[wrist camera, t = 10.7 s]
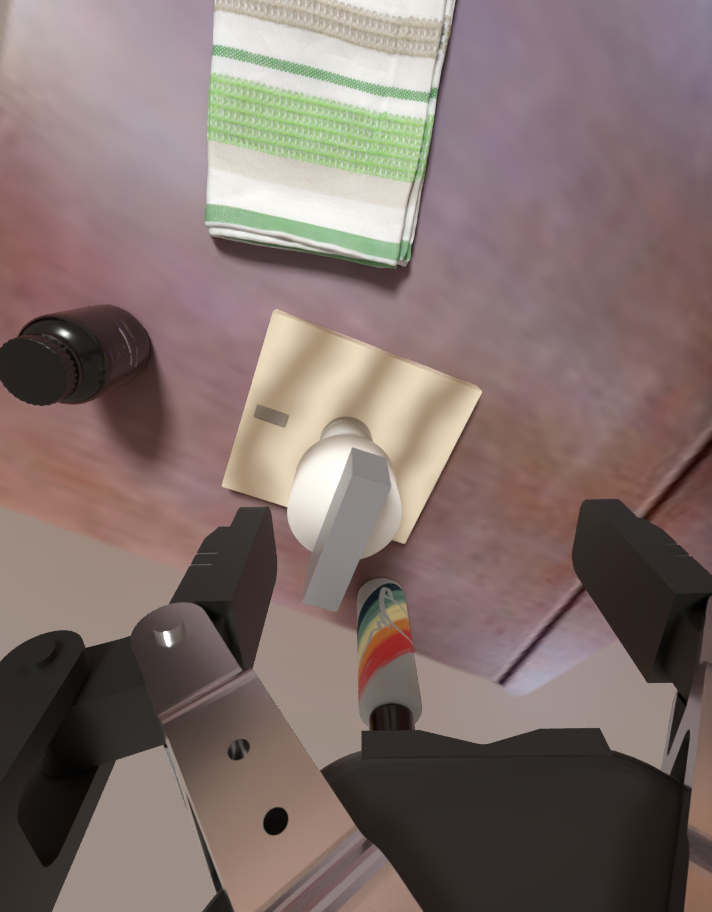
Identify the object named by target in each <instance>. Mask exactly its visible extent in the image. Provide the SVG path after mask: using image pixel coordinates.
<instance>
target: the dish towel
mask: <svg viewBox="0 0 712 912" xmlns="http://www.w3.org/2000/svg"><path fill="white" fill-rule="evenodd" d="M455 1H456V0H214V26H213V50H212V66H211V74H210V85H209V107H208V122H207V124H208V134H207V137H208V179H207V203H206V210H205V221H204V222H205V226H206V227H209V234H210V236H212V237H219V238H222V239H226V240H232V241H237V242H243V243H247V244H252V245H257V246H265V247H269V248H277V249H284V250H292V251H298V252H305V253H312V254H316V255H320V256H326V257H332V258H336V259H341V260H347V261H351V262H354V263H358V264H363V265H368V266H372V267H377V268H392V269H396V268H397V265H401V266H404V267H405V266H407V262H409V261H410V259H411V246H412V243H413V240H414V235H415V229H416V224H417V217H418V212H419V205H420V198H421V191H422V186H423V183H424V177H425V172H426V164H427V157H428V154H429V146H430V143H431V136H432V129H433V123H434V116H435V108H436V100H437V92H438V87H439V82H440V76H441V70H442V66H443V63H444V60H445V54H446V50H447V45H448V40H449V37H450V32H451V25H452V18H453V11H454V6H455Z"/></svg>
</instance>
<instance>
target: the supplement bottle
mask: <svg viewBox="0 0 712 912" xmlns="http://www.w3.org/2000/svg"><path fill="white" fill-rule="evenodd" d="M149 355H150V343H149V339H148V336H147V334H146V331H145V330H144V328H143V326H142V325H141V324H140V322H139V321H138V320H137V319H136V318H135V317H134V316H133V315H131V314H130V313H129V312H127V311H125V310H124V309H121V308H119V307H116V306H112V305H95V306H88V307H83V308H78V309H73V310H68V311H63V312H57V313H52V314H47V315H43V316H40V317H37V318H34V319H33V320H31V321H29V322H28V323H27V324H26V325H25V326H24V327H23V328H22V329H21V330H20V332H19V334H18V336H17V337H16V338H14V339H10V340H9V341H8V342H7V343H4V344H3V346H2V347H1V348H0V380H1V382H2V383H3V385H4V387H5V388H7V389H8V391H9V392H10V393H12V394H13V395H14V396H15V397H16V398H19V399H20V400H21V401H25V402H26V403H28V404H33V405H40V406H44V405H51V404H54V403H57V402H58V403H62V404H69V405H76V404H83V403H87V402H89V401H92V400H94V399H96V398H98V397H99V396H101V395H103V394H105V393H107V392H108V391H110V390H112V389H114V388H116V387H117V386H119V385H121V384H123V383H125V382H126V381H128V380H130V379H132V378H133V377H135V376H136V375H138V374H139V373H140V372H141V371H142V370H143V369H144V368H145V366H146V364H147V362H148V359H149Z"/></svg>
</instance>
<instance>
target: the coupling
mask: <svg viewBox="0 0 712 912" xmlns="http://www.w3.org/2000/svg"><path fill="white" fill-rule="evenodd" d="M287 514H288V521H289V525H290V528H291V530H292V532H293V534H294V536H295V537H296V538H297V540H298V541H299V542H300V543H301V544H302V545H303V546H304V547H305V548H307V549H308V550H309V551H311V552H312V554H311V557H310V559H309V562H308V564H307V571H306V578H305V586H304V593H303V601H302V603H304V604H308V605H312V606H315V607H319V608H323V609H327V610H331V611H334V612H337V610H338V608H339V606H340V604H341V601H342V599H343V597H344V594H345V592H346V590H347V588H348V585H349V583H350V581H351V578H352V576H353V574H354V571H355V569H356V567H357V565H358V562H359V560H360V559H363V558H366V557H369V556H371V555H373V554H375V553H377V552H379V551H380V550H382V549H383V548H384V547H385V546H387V545H388V544H389V542H390V541H391V540H392V539H393V538H394V536H395V535H396V533H397V531H398V529H399V526H400V523H401V518H402V506H401V500H400V495H399V490H398V485H397V480H396V475H395V470H394V467H393V464H392V462H391V460H390V458H389V456H388V455H387V454H386V453H385V451H384V450H383V449H382V448H381V447H379V446H378V445H377V444H375V443H374V442H372V441H370V440H368V439H366V438H363V437H360V436H356V435H335V436H331V437H327V438H325V439H322V440H320V441H318V442H317V443H315V444H314V445H312V446H311V447H310V448H309V449H308V450H307V451H306V452H305V453H304V454H303V456H302V457H301V459H300V461H299V463H298V466H297V469H296V473H295V477H294V481H293V486H292V490H291V494H290V498H289V502H288V509H287Z"/></svg>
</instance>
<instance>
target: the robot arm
mask: <svg viewBox="0 0 712 912" xmlns="http://www.w3.org/2000/svg"><path fill="white" fill-rule="evenodd" d="M676 543H677V542H675V541H674V540H673V539H672V538H671V537H670V536H669V535H668V534H667V533H666V532H665V531H664V530H663V529H661V528H659V527H657V526H656V525H654V524H652V523H650V522H648V521H646V520H645V519H643V518H638V517H637V516H636V515H635V514H634V513H632V512H631V511H630V510H629V509H628V508H627V507H626V506H625V505H624V504H623V503H622V502H621V501H620V500H618V499H591V500H585V501H584V502H583V503H582V505H581V507H580V512H579V517H578V523H577V528H576V534H575V539H574V544H573V550H572V561H573V567H574V570H575V573H576V575H577V576H578V578H579V579H580V581H581V583H582V584H583V586H584V587H585V589H586V590H587V592H588V593H589V595H590V596H591V598H592V599H593V601H594V602H595V604H596V605H597V607H598V608H599V610H600V611H601V613H602V614H603V616H604V617H605V619H606V621H607V622H608V624H609V625H610V627H611V628H612V630H613V631H614V633H615V634H616V636H617V637H618V639H619V640H620V642H621V643H622V645H623V646H624V648H625V649H626V651H627V652H628V654H629V655H630V657H631V658H632V660H633V662H634V663H635V665H636V666H637V668H638V669H639V671H640V672H641V674H642V675H643V677H644V678H645V680H646V681H647V683H673V684H674V686H675V687H676V688H677V691H676V694H675V697H674V700H673V704H672V709H671V715H670V720H669V726H668V732H667V738H666V743H665V748H664V754H663V761H662V765H661V770H659V769H657V768H655V767H653V766H651V765H650V764H647V763H645V762H643V761H640V760H638V759H636V758H634V757H631V756H628V755H625V754H622V753H619V752H617V751H612V750H610V748H609V746H608V744H607V742H606V740H605V738H604V736H603V734H602V732H601V730H600V728H564V729H538V730H535V731H531V732H528V733H524V734H521V735H518V736H514V737H511V738H507V739H503V740H500V741H497V742H493V743H490V744H476V743H472V742H468V741H463V740H459V739H455V738H451V737H446V736H442V735H438V734H434V733H429V732H425V731H421V730H387V731H362V751H359V752H356V753H352V754H349V755H347V756H345V757H343V758H340V759H338V760H336V761H335V762H333V763H331V764H329V765H328V766H326V767H324V768H323V769H322V770H319V769H318V767H317V766H316V764H315V763H314V761H313V760H312V758H311V757H310V755H309V754H308V752H307V751H306V749H305V747H304V746H303V744H302V743H301V741H300V740H299V738H298V737H297V736H296V734H295V732H294V731H293V729H292V728H291V726H290V725H289V723H288V722H287V720H286V719H285V717H284V716H283V714H282V712H281V711H280V709H279V708H278V706H277V705H276V703H275V702H274V700H273V699H272V697H271V696H270V694H269V693H268V691H267V690H266V688H265V687H264V685H263V684H262V682H261V681H260V679H259V678H258V676H257V675H256V674H255V672H254V671H253V670H252V668H253V665H254V661H255V657H256V653H257V650H258V646H259V641H260V638H261V634H262V630H263V627H264V623H265V619H266V615H267V612H268V608H269V604H270V600H271V596H272V593H273V589H274V585H275V581H276V575H277V554H276V546H275V539H274V531H273V523H272V515H271V511H270V508H269V507H240V508H239V509H238V511H237V513H236V515H235V518H234V520H233V522H232V524H231V526H230V527H218V528H217V529H216V530H215V531H213V532H212V533H211V534H210V535H209V536H207V537H206V538H205V539H204V541H203V543H202V545H201V546H200V548H199V550H198V552H197V555H195V557H194V559H193V561H192V563H191V566H189V568H188V570H187V572H186V574H185V576H184V578H183V579H182V581H181V583H180V585H179V586H178V588H177V590H176V592H175V594H174V596H173V598H172V599H171V601H170V603H169V605H165V606H162V607H160V608H158V609H156V610H154V611H152V612H150V613H149V614H147V615H146V616H145V617H143V618H142V619H141V620H140V621H139V622H138V623H137V625H136V626H135V627H134V629H133V631H132V633H131V636H129V637H126V638H122V639H119V640H115V641H111V642H107V643H103V644H99V645H96V646H92V647H88V648H85V645H84V642H83V640H82V638H81V636H80V635H79V634H77V633H75V632H72V631H67V630H60V631H53V632H48V633H45V634H41V635H39V636H36V637H34V638H32V639H30V640H28V641H26V642H24V643H22V644H21V645H19V646H17V647H16V648H15V649H13V650H12V651H11V652H10V653H8V655H6V656H5V657H4V658H3V659H2V660H1V661H0V912H52V910H53V908H54V905H55V903H56V900H57V898H58V896H59V893H60V891H61V889H62V886H63V884H64V882H65V879H66V877H67V874H68V872H69V870H70V867H71V865H72V863H73V860H74V858H75V856H76V853H77V851H78V849H79V846H80V844H81V842H82V839H83V837H84V834H85V832H86V830H87V827H88V825H89V822H90V820H91V818H92V816H93V813H94V811H95V809H96V806H97V804H98V801H99V799H100V797H101V794H102V792H103V790H104V787H105V785H106V783H107V780H108V778H109V776H110V773H111V771H112V769H113V766H114V764H115V761H116V760H117V759H121V758H123V757H127V756H130V755H133V754H136V753H139V752H142V751H145V750H148V749H151V748H154V747H158V746H161V745H163V748H164V751H165V753H166V756H167V759H168V761H169V764H170V767H171V770H172V772H173V775H174V778H175V781H176V784H177V786H178V789H179V792H180V795H181V797H182V800H183V803H184V806H185V808H186V811H187V814H188V816H189V819H190V822H191V825H192V828H193V830H194V833H195V836H196V839H197V842H198V845H199V848H200V851H201V854H202V857H203V860H204V863H205V865H206V868H207V871H208V874H209V877H210V880H211V883H212V885H213V888H214V891H215V893H216V895H215V896H214V898H213V899H212V900H211V901H210V902H209V904H208V905H207V906H206V908H205V909H204V910H203V911H202V912H712V575H711V574H710V573H709V572H708V571H707V570H706V569H704V568H703V567H702V566H701V565H700V564H699V563H698V562H697V561H696V560H695V559H694V558H693V557H689V555H688V553H687V552H686V551H685V550H684V549H683V548H682V547H681V546H680V545H677V544H676Z"/></svg>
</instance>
